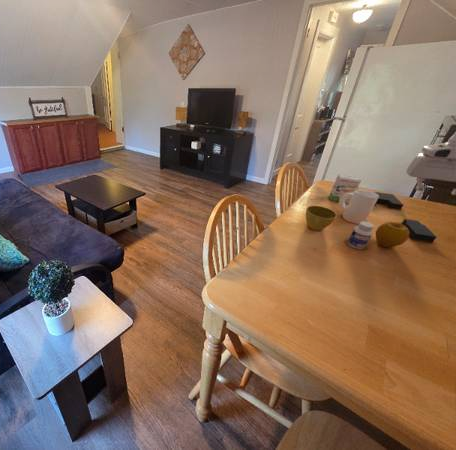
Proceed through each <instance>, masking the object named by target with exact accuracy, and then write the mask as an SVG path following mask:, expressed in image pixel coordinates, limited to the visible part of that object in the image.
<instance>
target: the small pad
mask: <svg viewBox="0 0 456 450" xmlns="http://www.w3.org/2000/svg"><path fill="white" fill-rule="evenodd" d="M401 224H402V225H404V226H405V227H406V228H408V230H409V232H410V234H409V237H410V238H411V239H412V240H414V241H415V240H416V241H422V242H427V243H434V242H435V240H436V239H437V235H435V234H434V233H433V232H432V231H431V230H430V229H429V228H428V227H427V226H426V225H425V224H423V223H421V222H420V221H419V220H415V219H408V218H404V219H403V220H402V222H401Z"/></svg>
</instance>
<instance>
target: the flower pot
mask: <svg viewBox="0 0 456 450" xmlns="http://www.w3.org/2000/svg"><path fill="white" fill-rule="evenodd" d="M306 207H307V208H306V210H305V211H306V212H305V219H306V220H305V221H306V225H307V227H308V228H309V229H311V230H313V231H322V230H324V229H325V228H327V227H329V226H330V225H331V224H332V223H333V222H334V220H335V219H336V218H337V216H338V215H337V213H336V212H335V211H334V210H333V209H330V208H328V207H325V206H320V205H309V206H306Z"/></svg>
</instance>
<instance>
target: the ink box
mask: <svg viewBox="0 0 456 450" xmlns="http://www.w3.org/2000/svg"><path fill="white" fill-rule="evenodd" d="M361 182H362V179H361V178H360V177H359V176H356V175H355V176H354V175H347V174H340V173H339V174H338V175H337V176H336V178H335V181H334V183H333V185H332V188H331V191H330V193H329V194H328V198H329V201H333V202H339V200H340V198H341V197H342V196H343V195H345V194H347V193H354V191H355V190H358V188H359V187H360V184H361ZM350 199H351V197H349V198H347V199H346V200H345V204H349V202H350Z"/></svg>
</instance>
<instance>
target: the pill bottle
mask: <svg viewBox="0 0 456 450" xmlns="http://www.w3.org/2000/svg"><path fill="white" fill-rule="evenodd" d="M374 228H375V225H374V224H373V223H371V222H369V221H366V222H364V221H362V222H360V223H359V224H358V225H357V226H355V227H354V228H353V229H352V232H351V234H350V235H349V238H348V239H347V244H348V246H350V247H351V248H354V249H357V250H364V249H365V248H366V246H367V245H368V243H369V241H370V240H371V238H372V236H373V235H374V233H373V230H374Z"/></svg>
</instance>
